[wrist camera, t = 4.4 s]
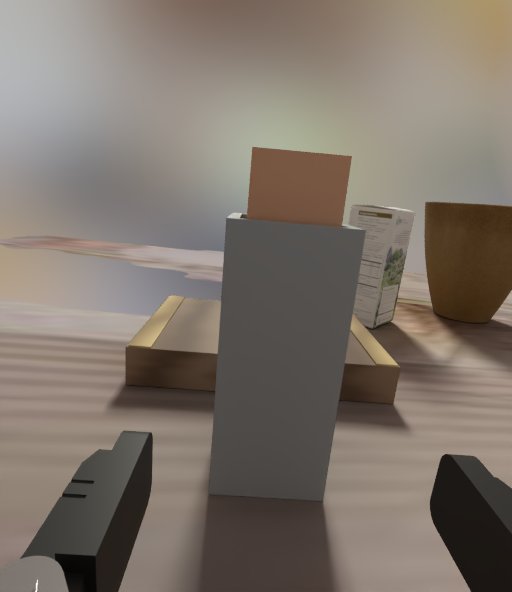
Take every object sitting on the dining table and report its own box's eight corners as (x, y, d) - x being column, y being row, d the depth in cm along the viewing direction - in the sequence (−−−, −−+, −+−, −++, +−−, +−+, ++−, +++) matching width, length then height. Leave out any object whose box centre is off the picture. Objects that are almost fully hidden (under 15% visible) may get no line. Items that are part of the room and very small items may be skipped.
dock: (125, 384, 27) (125, 344, 26) (167, 322, 41) (168, 295, 40) (393, 403, 28) (400, 365, 27) (346, 336, 41) (351, 309, 41)
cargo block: (244, 247, 16) (252, 146, 15) (246, 237, 20) (252, 157, 19) (337, 255, 16) (351, 156, 15) (320, 244, 20) (331, 165, 19)
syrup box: (354, 310, 52) (371, 205, 49) (394, 322, 48) (416, 209, 45) (332, 317, 48) (349, 203, 44) (374, 330, 44) (396, 206, 41)
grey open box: (208, 494, 18) (226, 217, 15) (218, 425, 23) (233, 212, 20) (322, 501, 18) (366, 229, 15) (306, 431, 24) (335, 221, 20)
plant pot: (435, 298, 65) (456, 204, 61) (535, 324, 53) (568, 211, 49) (385, 306, 56) (405, 197, 52) (491, 340, 44) (527, 204, 40)
